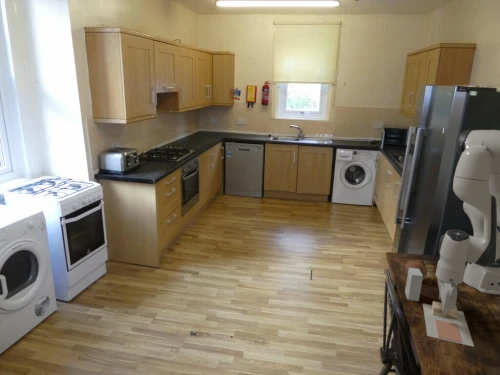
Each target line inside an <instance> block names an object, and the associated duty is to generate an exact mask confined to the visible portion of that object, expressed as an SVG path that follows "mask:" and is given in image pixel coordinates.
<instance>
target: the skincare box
mask: <svg viewBox="0 0 500 375" xmlns="http://www.w3.org/2000/svg"><path fill="white" fill-rule="evenodd" d="M422 279H423V275H422V273H421V271H420V269H416V268H409V270H408V276H407V275H406V282H405V283H406V284H405V290H404V295H405V296H406V299H407V300H408V301H413V302H419V301H420V294H421V291H422V285H423V284H422V283H423V281H422Z"/></svg>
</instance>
